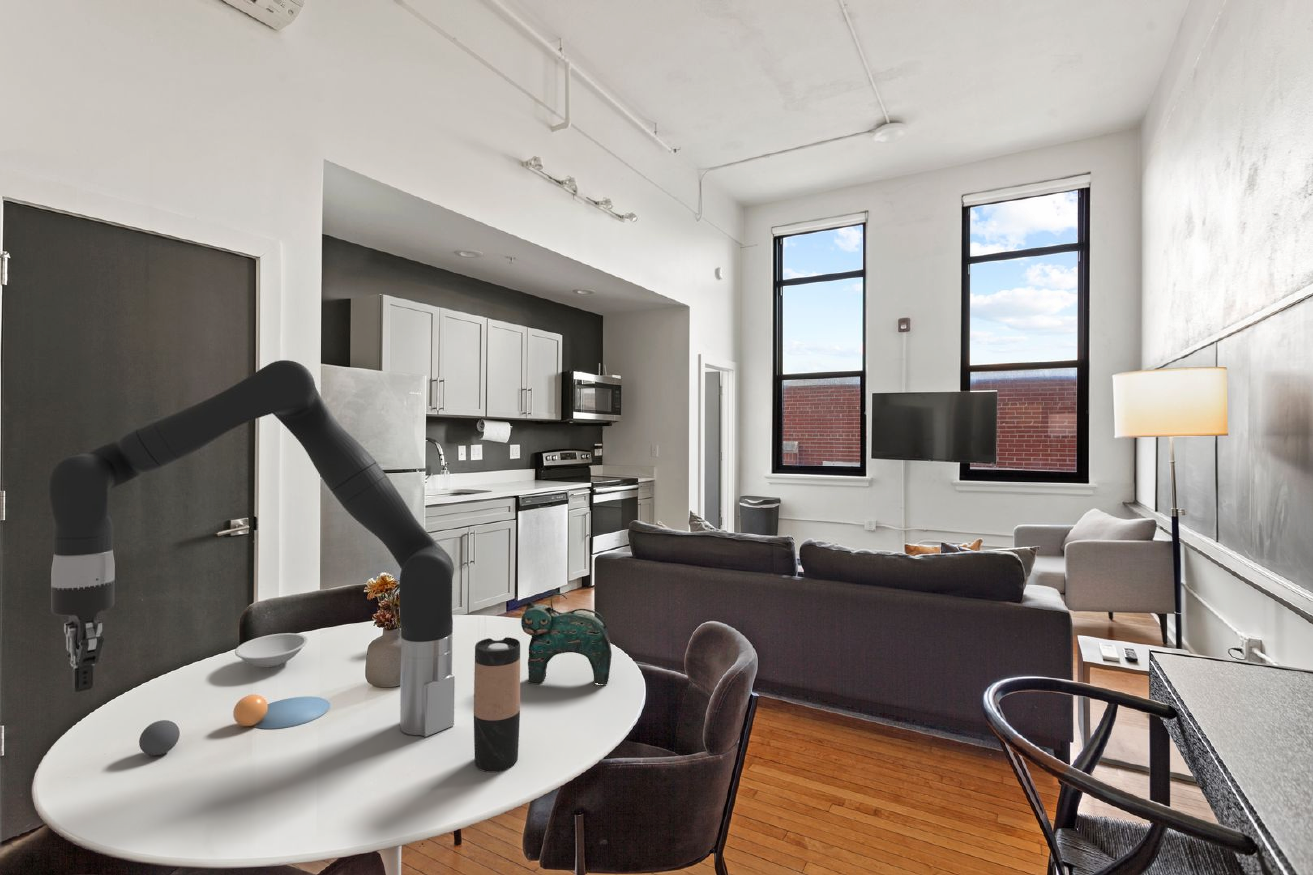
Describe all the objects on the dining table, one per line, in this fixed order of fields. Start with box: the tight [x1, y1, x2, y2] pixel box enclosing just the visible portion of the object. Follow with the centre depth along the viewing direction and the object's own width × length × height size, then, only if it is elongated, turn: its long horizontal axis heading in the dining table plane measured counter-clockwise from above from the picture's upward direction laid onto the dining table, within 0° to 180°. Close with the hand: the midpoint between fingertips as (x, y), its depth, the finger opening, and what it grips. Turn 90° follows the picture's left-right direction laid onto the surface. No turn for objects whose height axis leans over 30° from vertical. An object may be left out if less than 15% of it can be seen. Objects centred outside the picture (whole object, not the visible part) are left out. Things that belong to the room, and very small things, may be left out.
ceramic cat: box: [520, 592, 613, 684], centre depth 145 cm, size 20×6×20 cm, turn 87°
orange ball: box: [232, 694, 268, 727], centre depth 122 cm, size 6×6×6 cm
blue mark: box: [252, 696, 331, 730], centre depth 127 cm, size 14×14×1 cm
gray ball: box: [138, 719, 181, 757], centre depth 110 cm, size 6×6×6 cm
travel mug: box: [473, 636, 521, 773], centre depth 110 cm, size 8×8×20 cm
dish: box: [234, 632, 309, 668], centre depth 151 cm, size 18×14×5 cm
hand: (82, 689), depth 102 cm, fingers closed
